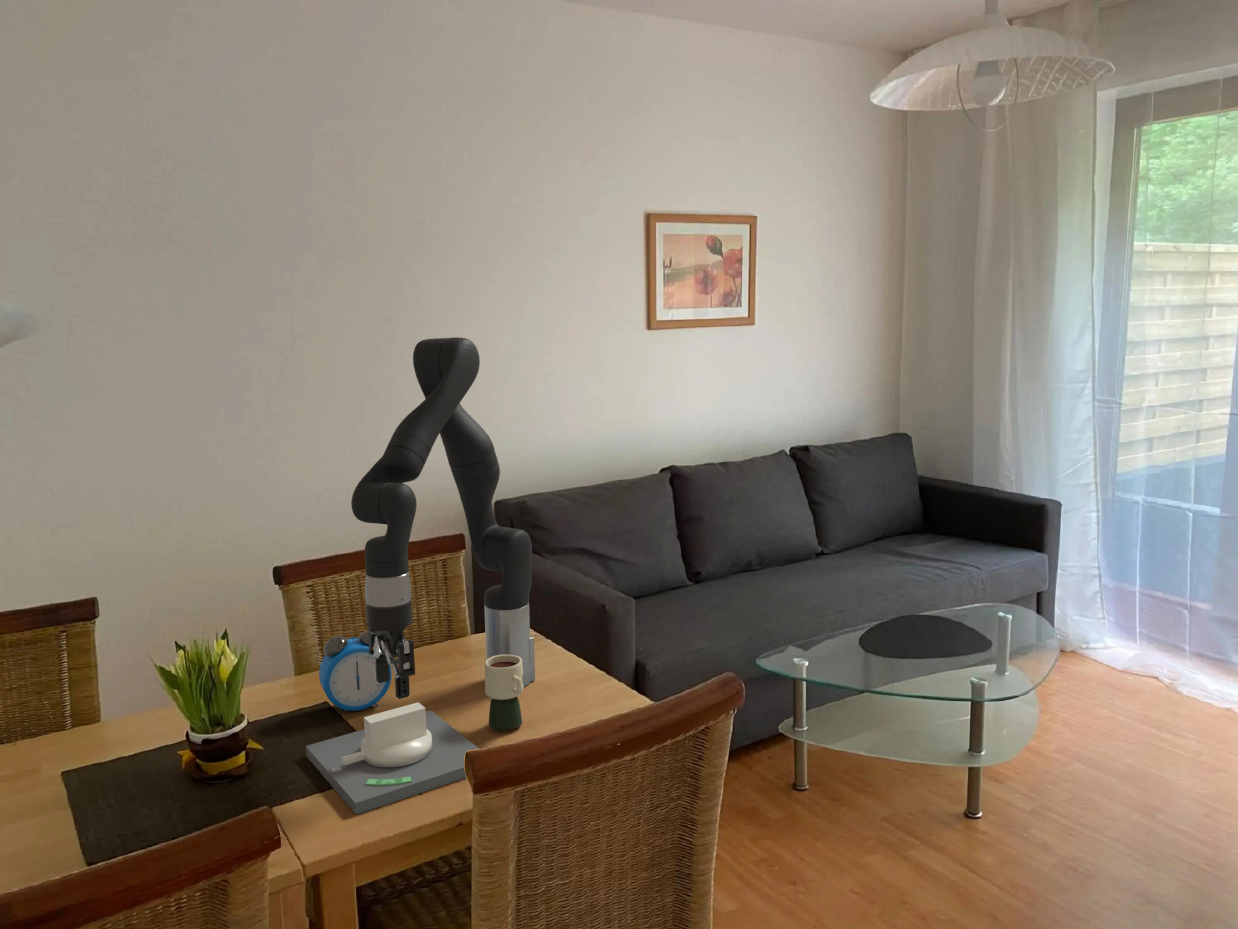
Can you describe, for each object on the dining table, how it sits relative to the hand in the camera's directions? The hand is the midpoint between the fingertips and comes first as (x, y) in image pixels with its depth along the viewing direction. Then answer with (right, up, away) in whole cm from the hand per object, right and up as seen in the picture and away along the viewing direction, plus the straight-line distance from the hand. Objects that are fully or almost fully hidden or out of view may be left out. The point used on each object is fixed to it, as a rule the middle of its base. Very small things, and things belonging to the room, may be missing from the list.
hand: (392, 689), depth 162 cm
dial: (-1, -11, +1) cm, 11 cm away
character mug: (+17, -11, +16) cm, 26 cm away
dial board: (0, -13, +2) cm, 14 cm away
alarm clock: (-13, -10, +26) cm, 31 cm away
